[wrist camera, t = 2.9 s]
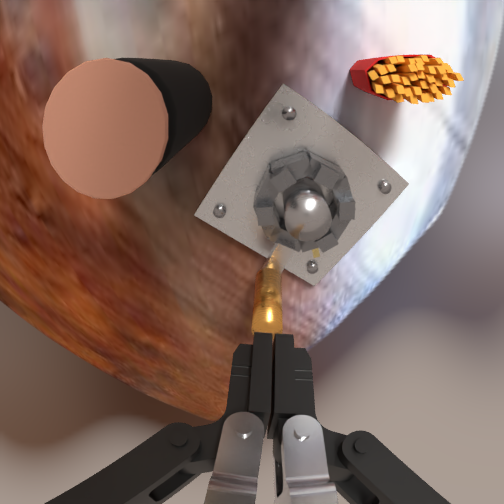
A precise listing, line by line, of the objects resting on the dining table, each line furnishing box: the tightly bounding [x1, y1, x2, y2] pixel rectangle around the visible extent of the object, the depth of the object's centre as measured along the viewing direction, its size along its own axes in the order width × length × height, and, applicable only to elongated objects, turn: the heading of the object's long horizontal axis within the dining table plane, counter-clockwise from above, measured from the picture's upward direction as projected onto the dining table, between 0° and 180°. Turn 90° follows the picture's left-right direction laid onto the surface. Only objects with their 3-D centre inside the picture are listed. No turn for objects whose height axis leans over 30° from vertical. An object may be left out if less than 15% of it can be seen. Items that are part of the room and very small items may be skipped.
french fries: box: [350, 55, 464, 104], centre depth 25 cm, size 9×4×13 cm, turn 106°
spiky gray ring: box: [252, 151, 356, 340], centre depth 34 cm, size 17×11×13 cm, turn 156°
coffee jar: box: [42, 58, 212, 199], centre depth 26 cm, size 11×11×18 cm
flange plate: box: [194, 84, 408, 286], centre depth 36 cm, size 20×20×8 cm
